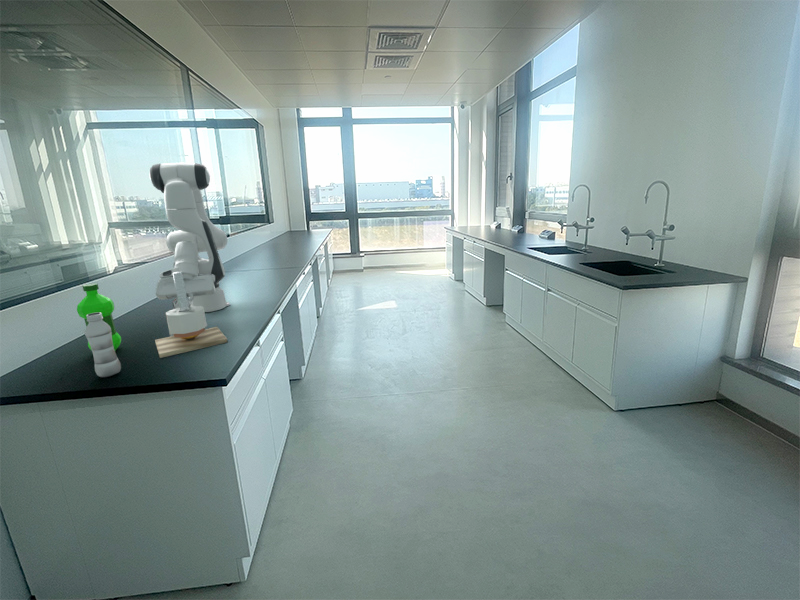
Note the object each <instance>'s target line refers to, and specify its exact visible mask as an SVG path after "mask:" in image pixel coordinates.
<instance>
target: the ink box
mask: <svg viewBox="0 0 800 600" xmlns="http://www.w3.org/2000/svg"><path fill="white" fill-rule="evenodd" d="M172 307H173V309H175V308H180V307H179V302H178V298H175V299H174V300H173V301H172ZM165 318H166V319H167V317H166V316H165ZM166 323H167V324H168V321H167V320H166ZM167 327H168V333H169V337H171V336H174V334H171V333H170V330H169V326H168V325H167Z"/></svg>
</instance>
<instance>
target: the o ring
mask: <svg viewBox="0 0 800 600" xmlns="http://www.w3.org/2000/svg"><path fill="white" fill-rule="evenodd" d="M205 329H206V328H203V329H201V330H199V331H195V332H190V333H186V334H174V336H175V337H190V336H194V335H198V334H200V333H202V332H204V331H205Z"/></svg>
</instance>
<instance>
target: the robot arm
mask: <svg viewBox="0 0 800 600" xmlns="http://www.w3.org/2000/svg"><path fill="white" fill-rule="evenodd" d="M149 179H150V182H151V184H152V186H153V187H154V188H155V189H156V190H159V191H160V193H162V194H163V195H164V197H163V198H164V207H165V214H166V218H167V220H168V223H169V224H170V225H171V226H172V227H173V228H175V229H176V230H175V231H171V232H169V233H168V235H167V236H166V240H165V242H166V246H167V249H169V251H170V252H172V254H173V268H170V269H168V270H165V271H162V272H160V273H159V279H158V281H157V282H156V287H155V296H156V298H157V299H158V300H160V301H164V300H173V299H174V300H175V299H176V298H178V297H177V292H176V288H175V283H174V278H173V273H174V272H182V274H183V279H184V284H185V290H186V295H187V300H188V305H189V306H202V307H203V308H204V312H205V313H210V312H216V311H220V310H223V309H225V308H226V307H228V306H231V303H230V302H228V301H227V300H226V299H227V298H226V295H225V292H224V289H222V288H221V287H220V282H221V281H222V280H223V279H224V277H226V276H225V275H226V270H225V266H224V264H223V261H222V260H221V258H220V254H219V251H220V250H224V249H225V248H226V247H227V243H228V236H227V234H226V232H225V231H224V230H223V229H221V228H219V227H218V226H216V225H215V224H214V223H213V222H212V221H211V220H210V219H209V217H208V215H207V212H206V209H205V203H204V198H203V194H202V191H203V190H205V189H207V188H208V187H209V185H210V182H211V175H210V173H209V171H208V168H207V167H206V166H205V165H204V164H201V163H192V162H191V163H190V162H169V163H156V164H155V163H154V164H152V165H151V166H150V169H149ZM199 253H206V254H207V256H208V258H207V259H206V258H202V257H201V256H200V255H199Z"/></svg>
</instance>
